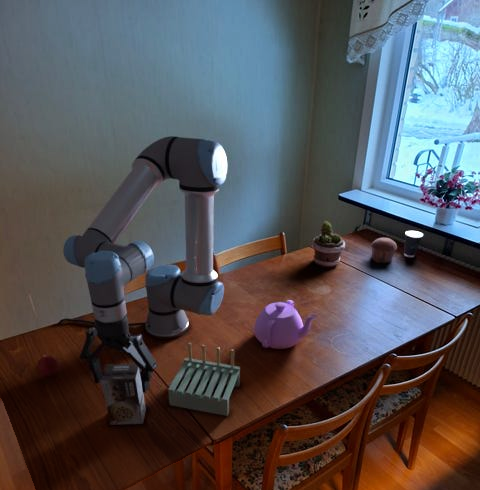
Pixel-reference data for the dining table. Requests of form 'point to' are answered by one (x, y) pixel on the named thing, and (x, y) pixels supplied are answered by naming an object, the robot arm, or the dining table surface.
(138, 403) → the coffee box
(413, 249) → the dixie cup
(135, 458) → the dining table surface
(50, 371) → the onion
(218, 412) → the rack
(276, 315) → the teapot
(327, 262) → the flowerpot
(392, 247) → the muffin
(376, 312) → the dining table surface
